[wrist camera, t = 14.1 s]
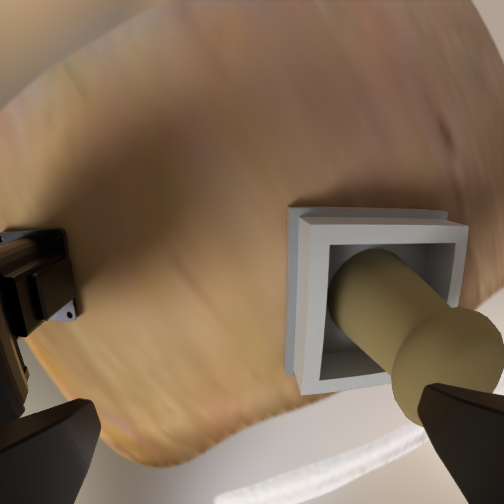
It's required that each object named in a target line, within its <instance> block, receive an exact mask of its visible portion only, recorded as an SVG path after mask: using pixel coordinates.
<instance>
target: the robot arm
mask: <svg viewBox="0 0 504 504" xmlns="http://www.w3.org/2000/svg"><path fill="white" fill-rule="evenodd" d="M57 233H59V234H60V239H59V238H58V237H57ZM1 237H2V238H3V241H2V239H1ZM75 296H76V293H75V288H74V282H73V275H72V268H71V261H70V260H69V257H68V249H67V240H66V233H65V231H64V230H63V229H62V228H46V229H32V230H18V231H6V232H0V504H74V502H75V500H76V497H77V495H78V493H79V491H80V488H81V486H82V483H83V481H84V479H85V477H86V475H87V472H88V469H89V467H90V464H91V461H92V457H93V454H94V451H95V447H96V444H97V441H98V438H99V434H100V431H101V423H100V420H99V417H98V414H97V412H96V409H95V406H94V403H93V402H92V401H91V400H88V399H81V398H78V399H75V400H72V401H69V402H66V403H64V404H61V405H58V406H55V407H52V408H49V409H46V410H43V411H40V412H37V413H34V414H31V415H28V416H25V417H22V418H20V417H21V416H22V414H23V413H24V411H25V407H24V405H23V404H24V403H25V399H26V397H27V393H28V386H27V381H28V378H29V372H28V369H27V367H26V366H25V365H24V362H23V359H22V356H21V353H20V350H19V347H18V343H17V342H18V341H19V340H20V339H21V338H22V337H27V336H28V335H29V334H31V333H32V332H33V331H34V330H35V329H36V328H37V327H39V326H40V325H41V324H42V323H43V322H44V321H48V320H54V321H68V322H72V321H74V320H75V319H76V318H77V317H78V312H77V307H76V301H75ZM69 312H71V313H72V315H73V316H71V315H70V314H69ZM417 413H418V417H419V419H420V421H421V423H422V425H423V427H424V429H425V431H426V433H427V435H428V437H429V439H430V441H431V443H432V445H433V447H434V449H435V451H436V452H437V454H438V456H439V457H440V459H441V460H442V462H443V463H444V465H445V467H446V468H447V470H448V471H449V473H450V474H451V476H452V477H453V479H454V481H455V482H456V484H457V485H458V487H459V489H460V490H461V492H462V493H463V495H464V496H465V498H466V500H467V501H468V503H469V504H504V395H498V394H492V393H487V392H481V391H476V390H471V389H466V388H461V387H456V386H451V385H447V384H442V383H433V384H428V385H426V386H425V387H424V389H423V392H422V395H421V398H420V401H419V404H418V408H417Z"/></svg>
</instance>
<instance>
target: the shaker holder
mask: <svg viewBox="0 0 504 504" xmlns="http://www.w3.org/2000/svg"><path fill="white" fill-rule="evenodd" d="M447 219H448V212H447V211H442V210H429V209H404V208H369V207H287V274H286V315H285V345H284V371H285V375H293V374H295V376H296V379H297V383H298V386H299V389H300V393H301V395H309V394H319V393H328V392H337V391H345V390H352V389H358V388H366V387H372V386H378V385H384V384H390V383H392V382H391V376H390V375H389V374H388V373H387V372H386V371H385V370H384V369H383V368H381V367H380V366H379V365H378V364H377V363H376V362H375V361H374V360H373V359H372V358H371V357H369V356H368V355H367V354H366V353H365V352H364V351H363V350H362V349H361V348H360V347H359V346H357V345H356V344H355V343H354V342H353V341H352V340H351V339H350V338H349V337H348V336H346V335H345V334H344V333H343V332H342V331H341V330H340V329H339V328H338V327H337V326H336V324H335V323H334V322H333V320H332V319H331V317H330V314H329V310H328V306H327V298H328V289H329V286H330V284H331V281H332V278H333V276H334V275H335V273H336V272H337V271H338V269H339V268H340V266H341V265H342V264H343V263H344V262H345V261H347V260H348V259H349V258H351V257H352V256H353V255H355V254H357V253H359V252H362V251H365V250H368V249H384V250H387V251H390V252H393V253H395V254H396V255H397V256H398V257H399V258H400V259H401V260H403V261H404V262H405V263H406V264H407V265H408V266H409V267H410V268H411V269H412V270H413V271H414V272H416V273H417V274H418V275H419V276H420V277H421V278H422V279H423V280H424V281H425V282H426V283H427V284H428V285H429V286H430V287H431V288H432V289H433V290H434V291H435V292H436V293H437V294H438V295H439V296H440V297H441V298H442V299H443V300H444V301H445V302H446V303H447V304H448V305H449V306H450V307H451V308H454V307H458V302H459V297H460V291H461V286H462V280H463V273H464V266H465V259H466V251H467V242H468V232H469V226H467V225H463V224H459V223H456V222H452V221H448V220H447Z"/></svg>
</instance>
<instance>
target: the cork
mask: <svg viewBox="0 0 504 504" xmlns="http://www.w3.org/2000/svg"><path fill="white" fill-rule="evenodd" d="M327 306H328V310H329V314H330V317H331V319H332V320H333V322H334V323H335V324H336V326H337V327H338V328H339V329H340V330H341V331H342V332H343V333H344V334H345V335H346V336H348V337H349V338H350V339H351V340H352V341H353V342H354V343H355V344H356V345H357V346H359V347H360V348H361V349H362V350H363V351H364V352H365V353H366V354H367V355H368V356H369V357H371V358H372V359H373V360H374V361H375V362H376V363H377V364H378V365H379V366H380V367H381V368H383V369H384V370H385V371H386V372H387V373H388V374H389V375H390V376H391V382H392V390H393V394H394V398H395V400H396V402H397V403H398V405H399V407H400V408H401V410H402V411H403V413H404V414H405V416H406V417H407V418H408V419H409V420H411V421H412V422H413V423H415V424H417V425H419V426H422V427H423V425H422V423H421V421H420V419H419V417H418V413H417V408H418V404H419V401H420V398H421V395H422V392H423V389H424V387H425V386H426V385H428V384H433V383H442V384H447V385H451V386H456V387H461V388H466V389H471V390H476V391H481V392H487V393H493V391H494V389H495V388H496V386H497V384H498V382H499V380H500V377H501V375H502V372H503V369H504V344H503V340H502V336H501V333H500V332H499V331H498V329H497V328H496V327H495V325H494V324H493V323H492V322H491V321H490V320H489V318H488V317H486V316H484V315H483V314H481V313H480V312H477V311H473V310H470V309H467V308H462V307H454V308H451V307H450V306H449V305H448V304H447V303H446V302H445V301H444V300H443V299H442V298H441V297H440V296H439V295H438V294H437V293H436V292H435V291H434V290H433V289H432V288H431V287H430V286H429V285H428V284H427V283H426V282H425V281H424V280H423V279H422V278H421V277H420V276H419V275H418V274H417V273H416V272H414V271H413V270H412V269H411V268H410V267H409V266H408V265H407V264H406V263H405V262H404V261H403V260H401V259H400V258H399V257H398V256H397V255H396V254H395V253H393V252H390V251H387V250H384V249H368V250H365V251H362V252H359V253H357V254H355V255H353V256H352V257H351V258H349V259H348V260H347V261H345V262H344V263H343V264H342V265H341V266H340V268H339V269H338V271H337V272H336V273H335V275H334V276H333V278H332V281H331V284H330V286H329V289H328V298H327Z"/></svg>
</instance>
